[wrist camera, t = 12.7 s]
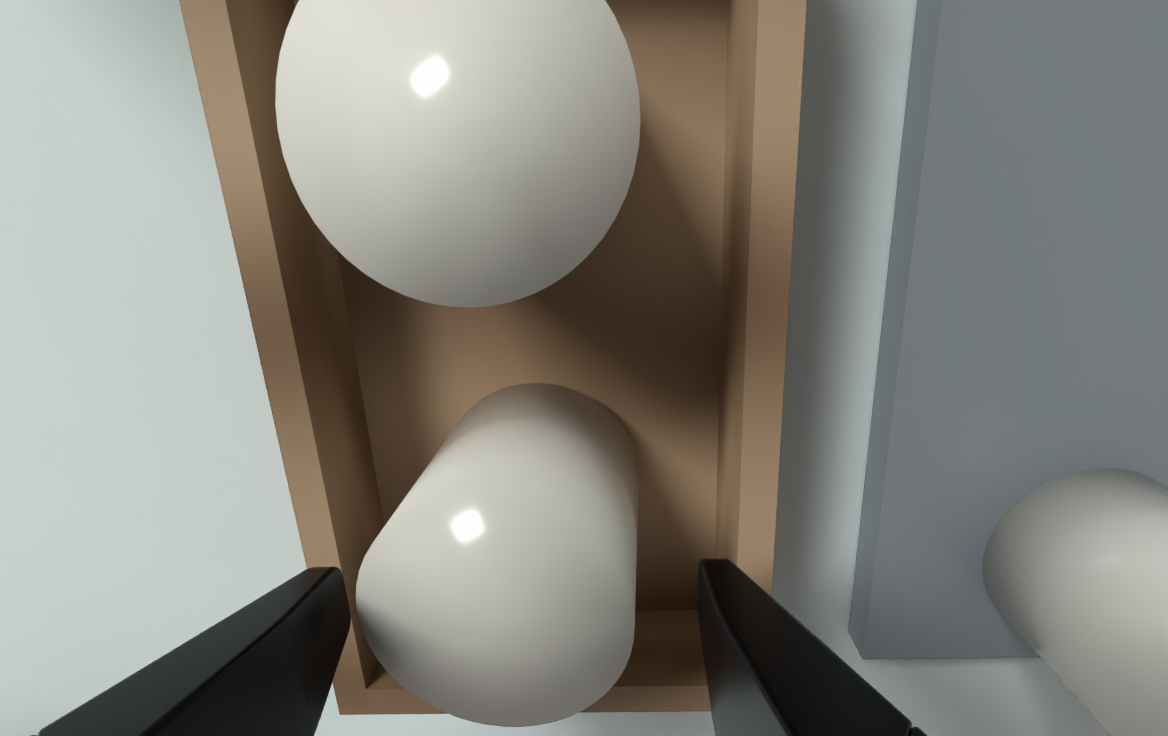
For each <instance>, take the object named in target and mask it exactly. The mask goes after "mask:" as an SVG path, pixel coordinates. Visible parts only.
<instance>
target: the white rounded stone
mask: <svg viewBox="0 0 1168 736" xmlns="http://www.w3.org/2000/svg"><path fill="white" fill-rule="evenodd" d="M982 573H983V581H984V585H985V589H986V591H987V594H988V596H989V598H990V599H991V601H992V602H993V604H994V605H995V607H996V608H997V609H998V610H999V611H1000V612H1001V613H1002V614H1003V615H1004V617H1005V618H1006V619H1007V620H1008V621H1009V622H1010V623H1011V624H1012V626H1013V627H1014V628H1015V629H1016V630H1017V631H1018V632H1019V633H1020V635H1021V636H1022V637H1023V638H1024V639H1025V640H1026V641H1027V642H1028V644H1029V645H1030V646H1031V647H1032V648H1033V649H1034V650H1035V651H1036V652H1037V654H1038V655H1039V656H1040V657H1041V658H1042V659H1043V660H1044V661H1045V663H1046V664H1047V665H1048V666H1049V667H1050V668H1051V669H1052V670H1053V672H1054V673H1055V674H1056V675H1057V676H1058V677H1059V678H1060V679H1061V681H1062V682H1063V683H1064V684H1065V685H1066V686H1067V687H1068V688H1069V689H1070V691H1071V692H1072V693H1073V694H1074V695H1075V696H1076V697H1077V698H1078V700H1079V701H1080V702H1081V703H1082V704H1083V705H1084V706H1085V707H1086V709H1087V710H1088V711H1089V712H1090V713H1091V714H1092V715H1093V716H1094V718H1095V719H1096V720H1097V721H1098V722H1099V723H1100V724H1101V725H1102V726H1103V728H1104V729H1105V730H1106V731H1107V732H1108V733H1109V734H1110V735H1111V736H1168V486H1166V485H1164V484H1162V483H1161V482H1159V481H1157V480H1155V479H1153V478H1151V477H1149V476H1147V475H1144V474H1142V473H1138V472H1135V471H1131V470H1125V469H1119V468H1098V469H1088V470H1083V471H1078V472H1074V473H1071V474H1067V475H1064V476H1061V477H1059V478H1056V479H1054V480H1051V481H1049V482H1047V483H1045V484H1043V485H1041V486H1040V487H1038V488H1036V489H1034V490H1033V491H1031V492H1030V493H1029V494H1027V495H1026V496H1024V497H1023V498H1022V499H1021V500H1019V501H1018V502H1017V503H1016V504H1015V505H1014V506H1013V507H1012V508H1011V509H1010V510H1009V511H1008V512H1007V513H1006V514H1005V515H1004V516H1003V518H1002V519H1001V520H1000V521H999V523H998V524H997V526H996V527H995V529H994V531H993V532H992V534H991V536H990V538H989V541H988V543H987V545H986V549H985V552H984V556H983V565H982Z"/></svg>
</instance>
